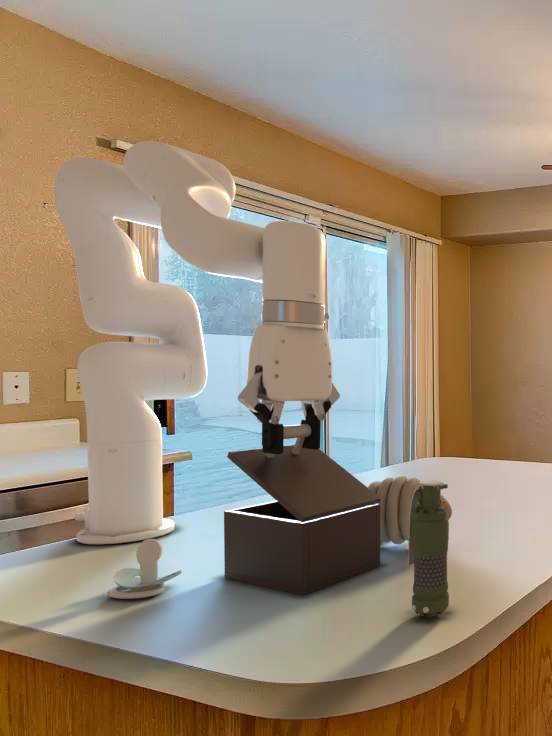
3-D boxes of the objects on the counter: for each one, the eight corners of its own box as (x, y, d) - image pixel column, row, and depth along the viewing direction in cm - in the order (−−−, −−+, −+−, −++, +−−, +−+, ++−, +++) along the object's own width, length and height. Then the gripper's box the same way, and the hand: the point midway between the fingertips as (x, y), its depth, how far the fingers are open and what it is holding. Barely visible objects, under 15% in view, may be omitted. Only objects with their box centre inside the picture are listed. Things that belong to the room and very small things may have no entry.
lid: (226, 457, 77) (239, 421, 76) (309, 447, 88) (321, 415, 87) (301, 522, 71) (316, 485, 70) (379, 503, 83) (393, 470, 82)
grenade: (456, 610, 68) (456, 480, 67) (434, 624, 64) (434, 486, 63) (424, 605, 69) (424, 478, 69) (401, 618, 65) (401, 483, 65)
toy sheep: (447, 554, 89) (448, 481, 88) (329, 557, 86) (329, 482, 86) (455, 536, 99) (455, 470, 99) (350, 538, 97) (350, 471, 97)
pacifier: (148, 604, 69) (189, 584, 75) (146, 551, 68) (187, 536, 74) (91, 601, 69) (136, 582, 75) (88, 549, 69) (134, 533, 75)
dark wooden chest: (224, 577, 78) (223, 511, 77) (306, 552, 89) (306, 494, 89) (303, 595, 72) (302, 523, 71) (380, 565, 83) (380, 503, 83)
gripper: (326, 322, 89) (324, 442, 90) (212, 310, 74) (211, 455, 74) (363, 323, 86) (361, 447, 87) (253, 310, 71) (251, 461, 71)
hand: (292, 449), depth 81 cm, fingers closed on lid, 5 cm apart
